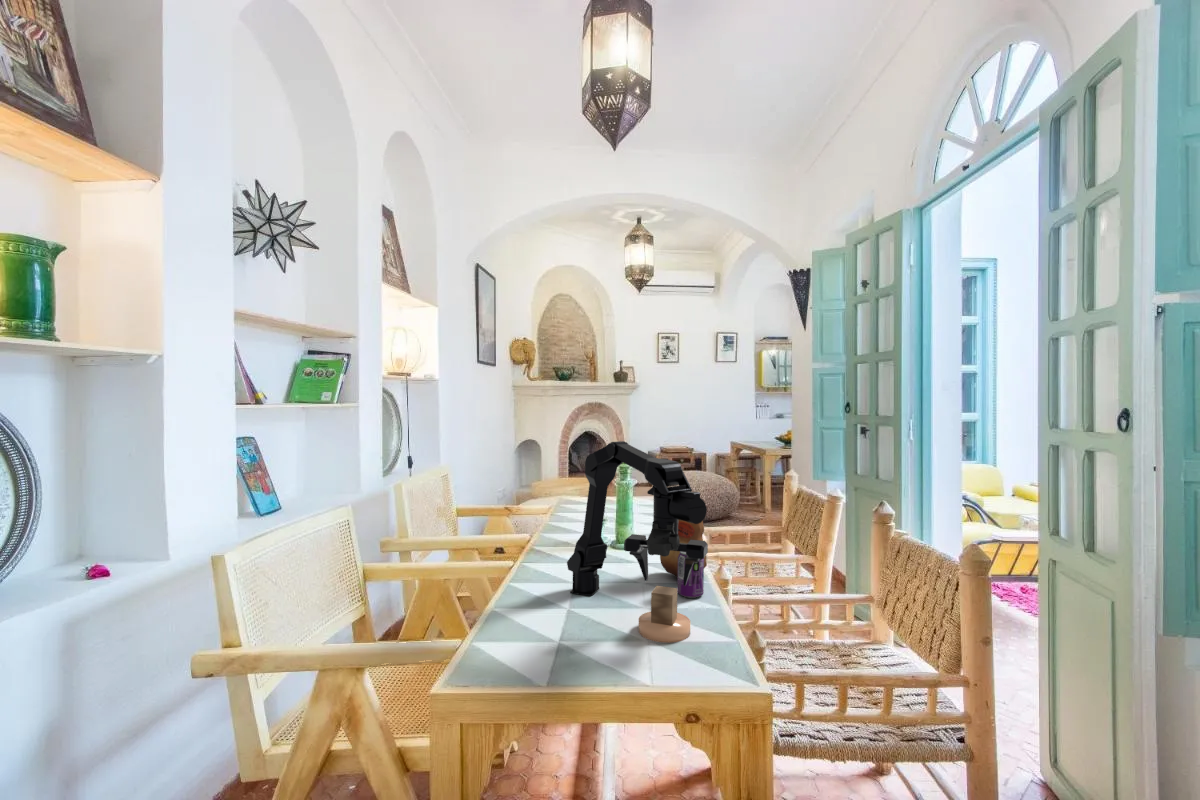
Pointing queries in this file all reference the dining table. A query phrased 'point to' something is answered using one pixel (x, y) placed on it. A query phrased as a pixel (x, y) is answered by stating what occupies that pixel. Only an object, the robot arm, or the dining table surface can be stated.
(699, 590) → the beverage can
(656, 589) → the walnut block
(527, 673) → the dining table surface
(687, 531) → the butternut squash
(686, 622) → the terracotta disc
